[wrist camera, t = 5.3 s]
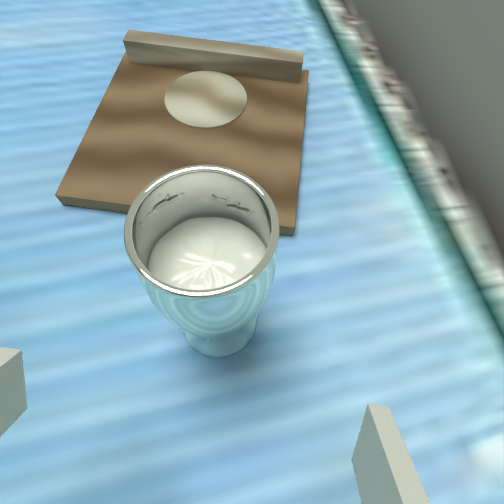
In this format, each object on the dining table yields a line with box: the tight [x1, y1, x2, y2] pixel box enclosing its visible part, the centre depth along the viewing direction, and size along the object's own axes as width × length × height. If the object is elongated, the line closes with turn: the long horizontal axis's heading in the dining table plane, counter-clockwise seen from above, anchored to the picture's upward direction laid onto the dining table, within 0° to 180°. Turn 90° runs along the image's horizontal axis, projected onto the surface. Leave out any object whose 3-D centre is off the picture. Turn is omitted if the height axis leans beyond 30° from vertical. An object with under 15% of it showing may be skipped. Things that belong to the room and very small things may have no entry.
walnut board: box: [55, 30, 309, 236], centre depth 35 cm, size 22×22×4 cm
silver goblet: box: [124, 165, 279, 357], centre depth 21 cm, size 7×7×15 cm
